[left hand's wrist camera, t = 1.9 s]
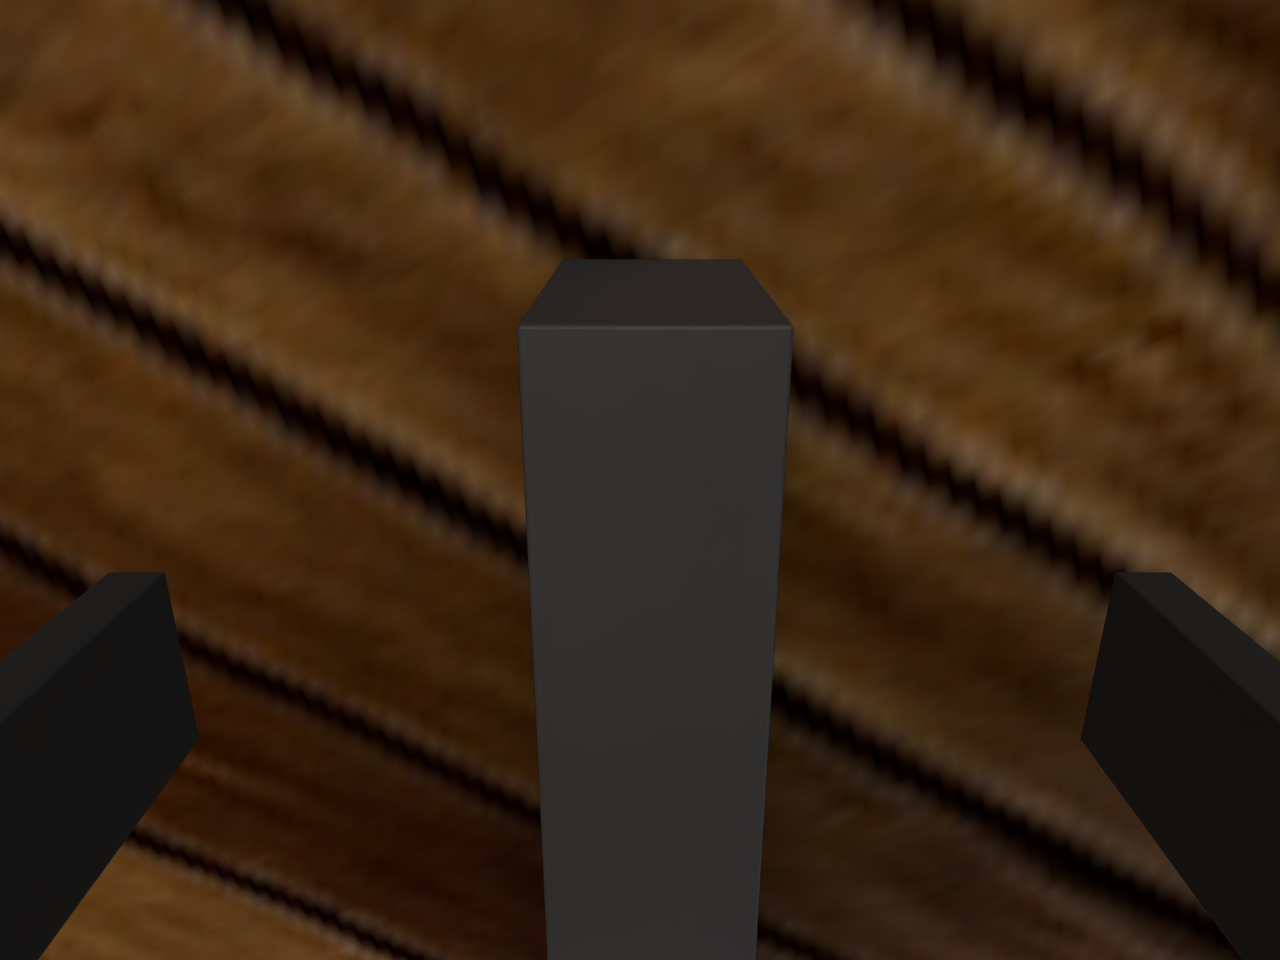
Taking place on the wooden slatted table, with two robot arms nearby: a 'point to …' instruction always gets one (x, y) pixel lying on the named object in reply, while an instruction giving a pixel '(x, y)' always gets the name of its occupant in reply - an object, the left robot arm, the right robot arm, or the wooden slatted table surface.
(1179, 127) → the wooden slatted table surface
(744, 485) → the bar
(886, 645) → the wooden slatted table surface
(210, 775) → the wooden slatted table surface
